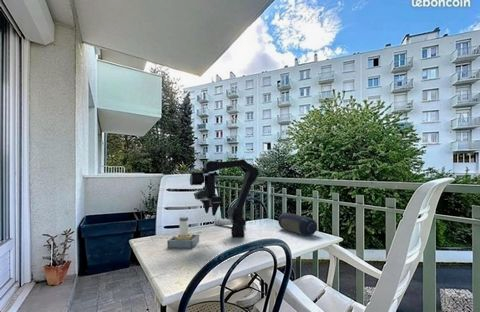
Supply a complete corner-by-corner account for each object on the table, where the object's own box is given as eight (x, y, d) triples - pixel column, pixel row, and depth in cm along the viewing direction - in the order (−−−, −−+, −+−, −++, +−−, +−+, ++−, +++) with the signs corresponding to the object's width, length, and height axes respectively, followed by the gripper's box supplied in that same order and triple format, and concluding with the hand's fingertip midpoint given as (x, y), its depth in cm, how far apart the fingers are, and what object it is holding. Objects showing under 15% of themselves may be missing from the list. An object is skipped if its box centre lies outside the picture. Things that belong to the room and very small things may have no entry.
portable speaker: (275, 229, 156) (275, 212, 157) (288, 227, 162) (287, 211, 162) (306, 238, 135) (305, 219, 136) (319, 235, 140) (318, 217, 141)
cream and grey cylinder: (190, 243, 127) (189, 217, 128) (184, 245, 124) (183, 219, 124) (183, 241, 130) (183, 216, 130) (177, 244, 126) (177, 218, 127)
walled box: (199, 241, 132) (199, 232, 132) (192, 248, 120) (192, 238, 120) (176, 241, 133) (176, 232, 134) (167, 248, 121) (167, 238, 122)
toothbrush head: (219, 218, 175) (246, 217, 158) (220, 228, 174) (248, 228, 158) (213, 219, 171) (241, 218, 155) (214, 229, 170) (242, 229, 154)
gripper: (189, 184, 141) (189, 213, 140) (202, 186, 125) (202, 218, 124) (208, 183, 147) (208, 211, 146) (222, 185, 130) (223, 216, 130)
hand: (210, 214), depth 136 cm, fingers open, 9 cm apart
